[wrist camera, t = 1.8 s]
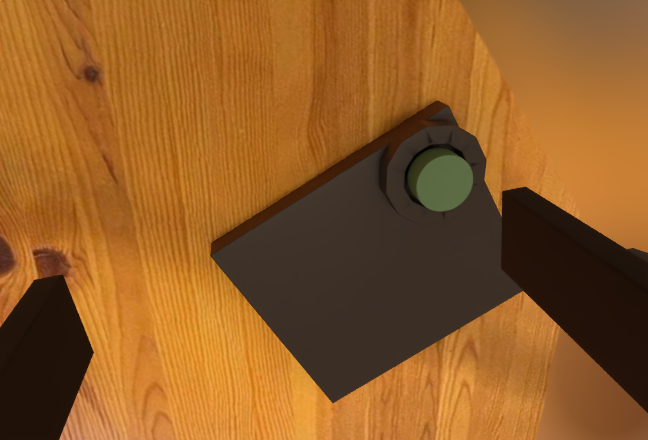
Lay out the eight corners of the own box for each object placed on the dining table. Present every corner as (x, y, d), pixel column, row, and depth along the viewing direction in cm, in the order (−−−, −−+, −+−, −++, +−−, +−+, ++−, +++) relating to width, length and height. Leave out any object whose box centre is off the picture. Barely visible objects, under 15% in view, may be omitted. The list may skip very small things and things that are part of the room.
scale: (439, 94, 33) (461, 104, 30) (523, 270, 40) (548, 294, 37) (208, 240, 34) (206, 264, 31) (328, 386, 41) (336, 418, 38)
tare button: (447, 136, 31) (459, 143, 29) (470, 182, 32) (482, 191, 31) (397, 167, 31) (406, 176, 30) (422, 211, 33) (431, 222, 31)
